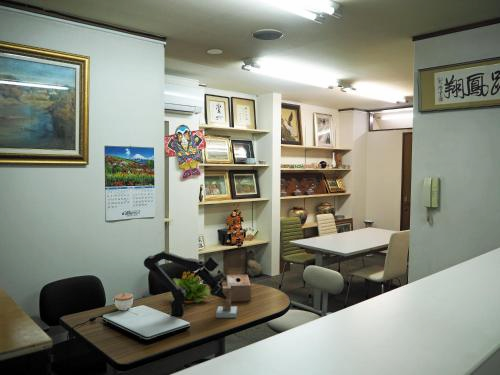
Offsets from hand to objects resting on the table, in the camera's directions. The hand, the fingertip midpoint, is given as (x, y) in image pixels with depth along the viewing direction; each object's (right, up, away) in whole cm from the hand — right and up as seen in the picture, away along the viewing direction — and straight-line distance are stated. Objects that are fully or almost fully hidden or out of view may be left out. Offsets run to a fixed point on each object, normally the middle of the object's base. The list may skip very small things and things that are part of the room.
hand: (226, 296), depth 231 cm
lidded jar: (-61, -11, +10) cm, 63 cm away
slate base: (0, -10, 0) cm, 10 cm away
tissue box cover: (+6, -9, +36) cm, 38 cm away
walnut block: (0, -8, 0) cm, 8 cm away
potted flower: (-26, -10, +25) cm, 37 cm away
